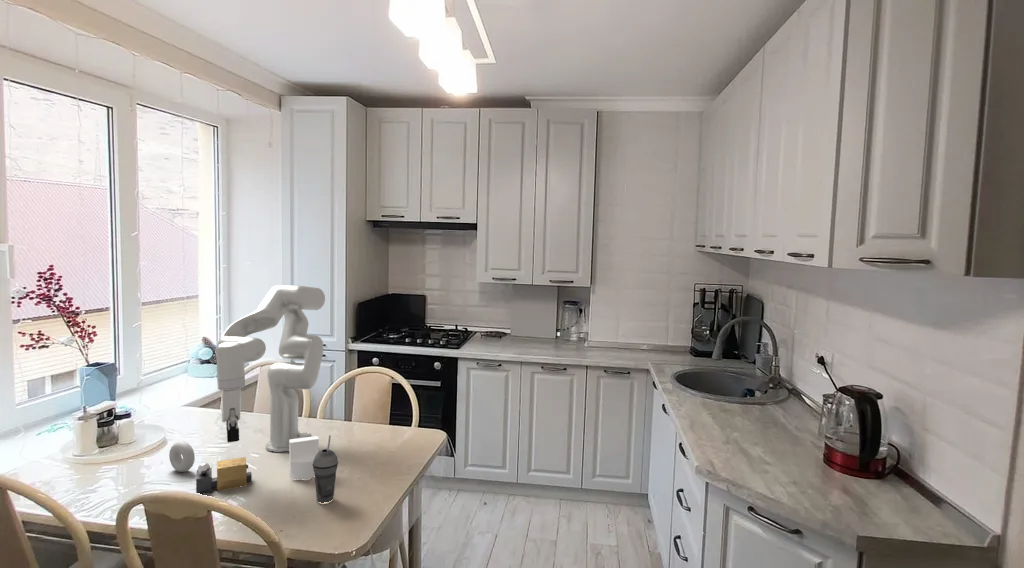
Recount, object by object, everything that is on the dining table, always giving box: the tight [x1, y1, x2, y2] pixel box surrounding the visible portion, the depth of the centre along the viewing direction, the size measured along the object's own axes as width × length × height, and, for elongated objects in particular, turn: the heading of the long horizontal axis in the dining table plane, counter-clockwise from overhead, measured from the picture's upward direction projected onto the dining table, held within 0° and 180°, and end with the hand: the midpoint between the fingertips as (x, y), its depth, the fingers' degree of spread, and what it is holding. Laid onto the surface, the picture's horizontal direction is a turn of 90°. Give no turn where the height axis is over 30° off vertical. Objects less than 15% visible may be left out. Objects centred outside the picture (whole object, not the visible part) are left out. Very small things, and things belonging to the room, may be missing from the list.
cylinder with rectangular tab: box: [288, 435, 320, 481], centre depth 174 cm, size 9×9×12 cm
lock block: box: [216, 456, 249, 492], centre depth 166 cm, size 9×6×7 cm
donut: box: [168, 440, 196, 473], centre depth 174 cm, size 10×4×10 cm, turn 66°
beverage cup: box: [313, 434, 339, 503], centre depth 157 cm, size 7×7×20 cm
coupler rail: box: [195, 462, 253, 495], centre depth 165 cm, size 15×7×8 cm, turn 119°
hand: (232, 435), depth 166 cm, fingers open, 9 cm apart
